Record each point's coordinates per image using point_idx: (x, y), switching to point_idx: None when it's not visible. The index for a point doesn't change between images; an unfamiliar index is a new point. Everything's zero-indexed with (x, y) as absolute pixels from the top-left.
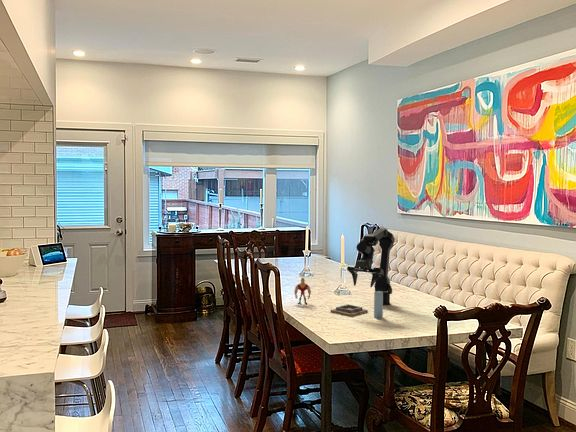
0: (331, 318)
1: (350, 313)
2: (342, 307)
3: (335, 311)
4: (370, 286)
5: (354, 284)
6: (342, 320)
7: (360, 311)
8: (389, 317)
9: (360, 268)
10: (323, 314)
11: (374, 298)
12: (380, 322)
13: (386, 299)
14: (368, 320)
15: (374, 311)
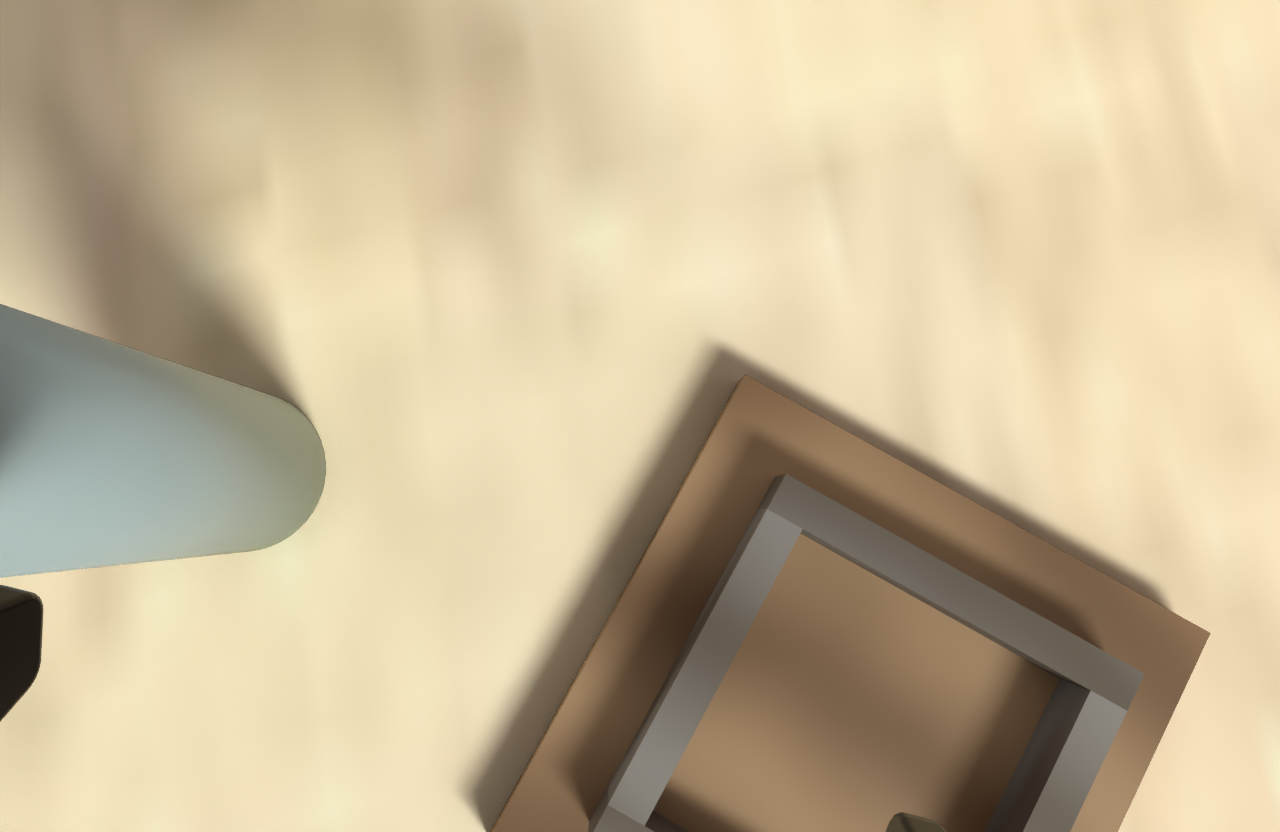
0: (1037, 165)
1: (769, 445)
2: (1019, 805)
3: (1088, 567)
4: (23, 596)
5: (917, 829)
6: (828, 82)
7: (608, 678)
8: None
9: None
10: (1251, 414)
11: (110, 381)
12: (182, 121)
13: None
14: (398, 201)
15: (268, 415)
